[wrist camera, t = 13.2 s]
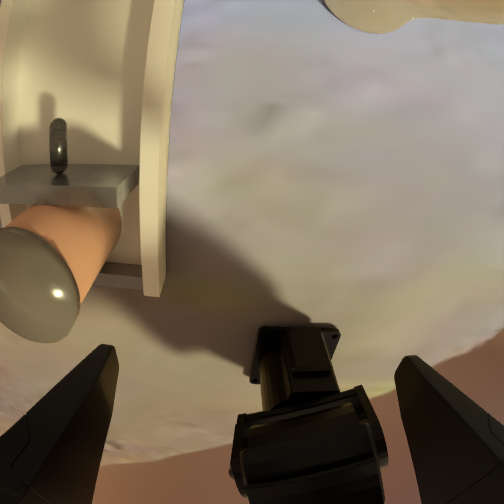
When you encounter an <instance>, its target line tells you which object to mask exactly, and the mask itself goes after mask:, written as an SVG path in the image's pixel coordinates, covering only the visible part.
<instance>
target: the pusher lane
mask: <svg viewBox="0 0 504 504" xmlns="http://www.w3.org/2000/svg"><path fill="white" fill-rule="evenodd" d="M183 5H184V0H2V1H1V6H0V177H1V176H3V175H5V174H7V173H8V172H10V171H12V170H14V169H16V168H18V167H20V166H22V165H40V164H50V149H49V126H50V123H51V122H52V121H53V120H54V119H56V118H62V119H64V120H65V121H66V123H67V154H68V164H113V165H140V178H139V184H138V185H137V186H136V187H135V188H134V189H133V191H132V192H131V193H130V194H129V195H128V196H127V198H126V199H125V200H124V201H123V202H122V203H121V205H120V206H119V207H118V208H119V211H120V214H121V220H122V230H121V235H120V238H119V241H118V243H117V244H116V246H115V247H114V249H113V251H112V252H111V254H110V255H109V257H108V259H107V260H106V262H105V264H104V265H103V267H102V268H101V270H100V272H99V274H98V275H97V277H96V279H95V280H94V282H93V284H92V285H95V286H104V287H112V288H122V289H131V290H141V291H144V296H151V297H160V294H161V291H162V287H163V284H164V281H165V277H166V191H167V165H168V145H169V129H170V116H171V103H172V92H173V82H174V72H175V63H176V55H177V46H178V39H179V31H180V24H181V17H182V11H183ZM30 206H32V205H29V204H0V218H1V224H2V228H4V227H5V226H7V225H8V224H9V223H10V222H11V221H13V220H14V219H15V218H16V217H18V216H19V215H20V214H21V213H23V212H24V211H25V210H26V209H28V208H29V207H30Z"/></svg>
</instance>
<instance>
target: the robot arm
mask: <svg viewBox="0 0 504 504" xmlns="http://www.w3.org/2000/svg"><path fill="white" fill-rule="evenodd" d="M264 332H266V334H263V333H264ZM334 334H335V335H334ZM340 336H341V334H340V332H339V330H338V329H336V328H295V327H269V326H264V327H261V328H259V330H258V333H257V339H256V344H255V349H254V355H253V360H252V365H251V371H250V376H249V379H250V383H252V384H260V386H261V396H262V407H263V411H261V412H256V413H251V414H246V413H244V414H239V415H238V418H237V424H236V425H235V432H234V439H233V447H232V454H231V461H230V468H229V475H230V477H231V478H232V479H234V480H235V482H236V485H237V488H238V490H239V492H240V494H241V495H242V496H243V497H245V498H248V499H249V503H250V504H384V502H385V496H384V489H383V484H382V479H381V472H380V468H383V467H386V466H387V465H388V452H387V446H386V442H385V438H384V434H383V431H382V428H381V426H380V423H379V420H378V418H377V416H376V414H375V412H374V410H373V407H372V405H371V404H370V401H369V399H368V397H367V395H366V392H365V390H364V388H363V386H362V385H359V386H356V387H354V388H353V389H350V390H347V391H343V392H340V389H339V386H338V383H337V380H336V376H335V373H334V370H333V366H332V362H331V359H332V356H333V354H334V351H335V349H336V346H337V344H338V341H339V339H340ZM118 373H119V363H118V359H117V354H116V350H115V347H114V346H112V345H106V344H101V345H99V346H98V347H97V348H96V349H94V350H93V351H92V352H91V353H90V354H89V355H88V356H87V357H86V358H85V359H83V360H82V361H81V362H80V363H79V364H78V365H77V366H76V367H75V368H74V369H73V370H71V371H70V372H69V373H68V374H67V375H66V376H65V377H64V378H63V379H62V380H61V381H60V382H59V383H57V384H56V385H55V386H54V387H53V388H52V389H51V390H50V391H49V392H48V393H47V394H46V395H45V396H44V397H43V398H41V399H40V400H39V401H38V402H37V403H36V404H35V405H34V406H33V407H32V408H31V409H30V410H29V411H28V412H27V413H26V415H23V416H22V417H21V418H20V419H19V420H18V421H17V422H16V423H15V424H14V425H13V426H12V427H11V428H10V429H8V430H7V431H6V432H5V433H4V434H3V435H1V436H0V504H92V500H93V495H94V490H95V485H96V480H97V476H98V471H99V467H100V462H101V458H102V454H103V449H104V445H105V441H106V437H107V433H108V429H109V425H110V421H111V417H112V412H113V405H114V398H115V391H116V385H117V379H118ZM394 379H395V385H396V390H397V395H398V401H399V407H400V413H401V418H402V421H403V425H404V429H405V433H406V437H407V440H408V445H409V449H410V453H411V457H412V461H413V465H414V469H415V474H416V479H417V483H418V487H419V492H420V497H421V503H422V504H504V426H503V425H502V424H501V423H500V422H499V421H497V420H496V419H495V418H493V417H492V416H491V415H490V414H489V413H487V412H486V411H485V410H484V409H483V408H481V407H480V406H479V405H478V404H476V403H475V402H474V401H473V400H471V399H470V398H469V397H468V396H467V395H465V394H464V393H463V392H462V391H460V390H459V389H458V388H456V387H455V386H454V385H453V384H452V383H450V382H449V381H448V380H447V379H445V378H444V377H443V376H442V375H440V374H439V373H438V372H437V371H435V370H434V369H433V368H432V367H430V366H429V365H428V364H427V363H425V362H424V361H423V360H422V359H420V358H419V357H418V356H416V355H409V356H405V357H404V358H403V359H402V361H401V363H400V365H399V366H398V368H397V370H396V371H395V375H394Z"/></svg>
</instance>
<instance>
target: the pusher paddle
mask: <svg viewBox="0 0 504 504" xmlns="http://www.w3.org/2000/svg"><path fill="white" fill-rule="evenodd" d="M49 149H50V164H40V165H22V166H20V167H18V168H16V169H14V170H12V171H10V172H8V173H7V174H5V175H3V176H1V177H0V204H29V205H56V206H79V207H99V208H118V207H119V206H120V205H121V203H122V202H123V201H124V200H125V199H126V198H127V196H128V195H129V194H130V193H131V192H132V191H133V189H134V188H135V187H136V186H137V185H138V184H139V178H140V165H113V164H68V154H67V123H66V121H65V120H64V119H62V118H56V119H54V120H53V121H52V122H51V123H50V126H49Z"/></svg>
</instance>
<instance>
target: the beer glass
mask: <svg viewBox="0 0 504 504" xmlns="http://www.w3.org/2000/svg"><path fill="white" fill-rule="evenodd" d="M323 1H324V3H325V4H326V6H327V7H328V8H329V10H330V11H331V12H332V13H333V14H334V15H335V16H336V17H337V18H339V19H340V20H341V21H343V22H344V23H346V24H347V25H349V26H351V27H353V28H355V29H357V30H360V31H363V32H368V33H375V34H383V33H389V32H392V31H395V30H397V29H399V28H400V27H402V26H403V25H405V24H406V23H407V22H409V21H410V20H411V19H415V18H435V19H445V20H455V21H464V22H475V23H486V24H504V0H323Z"/></svg>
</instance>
